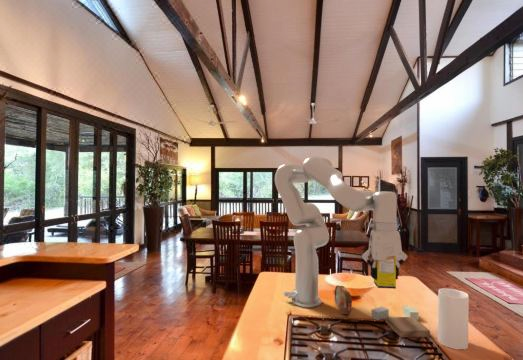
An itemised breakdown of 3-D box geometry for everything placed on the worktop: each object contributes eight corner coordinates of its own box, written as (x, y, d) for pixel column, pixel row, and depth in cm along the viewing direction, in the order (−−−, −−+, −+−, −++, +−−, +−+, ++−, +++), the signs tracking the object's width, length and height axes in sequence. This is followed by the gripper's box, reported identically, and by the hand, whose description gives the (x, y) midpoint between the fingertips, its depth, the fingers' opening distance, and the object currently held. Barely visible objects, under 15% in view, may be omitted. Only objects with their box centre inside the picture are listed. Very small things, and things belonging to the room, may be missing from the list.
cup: (434, 334, 102) (435, 287, 102) (462, 338, 100) (463, 289, 100) (441, 347, 94) (442, 295, 94) (472, 351, 92) (472, 299, 92)
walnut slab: (400, 337, 100) (400, 331, 100) (386, 322, 110) (386, 317, 110) (429, 336, 101) (429, 330, 101) (412, 322, 111) (412, 316, 111)
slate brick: (378, 320, 112) (378, 312, 112) (371, 317, 115) (371, 309, 115) (388, 317, 115) (388, 309, 115) (381, 314, 118) (381, 306, 118)
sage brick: (418, 320, 113) (418, 312, 113) (410, 320, 113) (410, 312, 113) (410, 313, 119) (410, 305, 119) (402, 313, 119) (402, 305, 119)
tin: (333, 302, 129) (334, 282, 129) (341, 302, 129) (341, 282, 129) (344, 318, 114) (345, 295, 114) (353, 318, 114) (353, 295, 114)
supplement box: (390, 283, 108) (390, 252, 108) (396, 289, 102) (396, 256, 102) (373, 282, 109) (373, 252, 109) (377, 288, 103) (377, 256, 103)
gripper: (364, 228, 101) (364, 282, 101) (414, 228, 102) (414, 281, 102) (356, 225, 109) (356, 275, 109) (403, 225, 110) (403, 274, 110)
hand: (384, 277), depth 105 cm, fingers closed on supplement box, 6 cm apart
